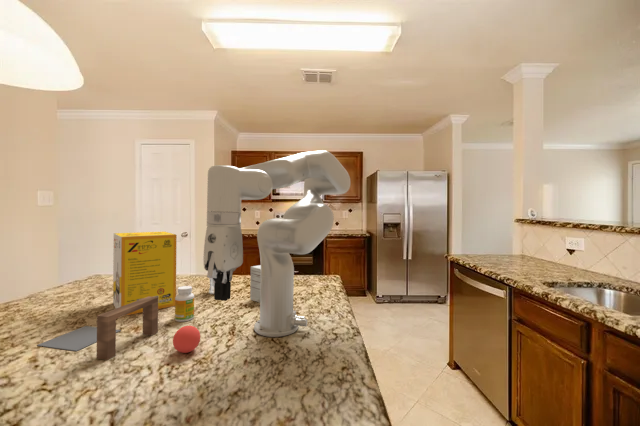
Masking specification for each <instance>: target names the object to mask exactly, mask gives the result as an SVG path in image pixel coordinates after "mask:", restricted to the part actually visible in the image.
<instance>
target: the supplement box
mask: <svg viewBox="0 0 640 426" xmlns="http://www.w3.org/2000/svg"><path fill="white" fill-rule="evenodd" d="M260 274H261V264H258V265H253V266H250V284H249V285H250V288H249V289H250V297H249V298H250V300H251V301H254V302H256V303H259V304H260Z"/></svg>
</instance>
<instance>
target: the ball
mask: <svg viewBox="0 0 640 426" xmlns="http://www.w3.org/2000/svg"><path fill="white" fill-rule="evenodd" d="M200 341H201V333H200V330H199V329H198V328H197V327H196V326H193V325H184V326H182V327H180V328H179V329H177V331H176V332H174V335H173V337H172V346H173V347H174V349H175V351H177V352H179V353H182V354H187V353H190V352H193V351H194V350H195V349H196V348H197V347H199V344H200Z"/></svg>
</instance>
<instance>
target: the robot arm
mask: <svg viewBox="0 0 640 426" xmlns="http://www.w3.org/2000/svg"><path fill="white" fill-rule="evenodd" d="M302 181H303V197H302V198H301V199H300V200H298V201H297V202H296V203H294V204H293V205H291V206H290V207H288V208H287V210H286V211H285V212H284V213H283V216H282V218H278V217H277V218H270V219H269V218H268V219H266V220H264V221H263V222H262V223H260V225H259V227H258V228H257V233H256V235H257V236H256V238H257V239H256V240H257V246H258V249H259V258H260V265H261V274H260V303H259V320H257V321H256V322H255V323H254V325H253V330H254V332H255V333H256V334H258V335H260V336H263V337H268V338H278V337H279V338H280V337H285V336H289V335H291V334H294V333H295V332H296V331H298V329H299V326H300V327H307V326H308V319H307V318H306V316H300V315H299V316H298V315H297V310H294V283H295V282H294V281H295V279H294V278H295V267H294V266H295V265H294V262H293V259H292V256H291V255H290V254H293V255H306V254H310V253H311V252H312V251H313V250H315V249H316V248H317V247H318V245H319V244H321V242H322V241H324V239H325V238H326V237H327V236H328V235H329V234H330V232H331V230H332V228H333V226H334V218H335V217H334V212H333V210H332V208H331V207H330V206H329V205H327V204H325V203H324V201H323V199H322V198H321V196H329V195H344V194H347V192H348V191H349V190H350V189H351V177H350V174H349V172H348V171H347V169H346V168H345V167H344V166H343V165H342V163H341V162H340V161H339V159H338V158H336V156H335V155H334V154H332V152H329V151H328V150H325V149H324V150H323V149H322V150H321V149H320V150H313V151H311V150H310V151H304V152H298V153H296V154H292V155H288V156H284V157H281V158H277V159H272V160H268V161H265V162H260V163H257V164H252V165H248V166H244V167H237V166H233V165H225V164H223V165H221V164H220V165H216V164H215V165H212V166H210V167H209V168H208V171H207V188H206V189H207V190H206V193H207V195H206V196H207V197H206V231H205V237H204V245H203V269H204V270H205V271H207V274H206V275H207V277H206V278H213V282H214V283H215V285H214V294H213V295H214V296H213V297H214V298H213V299H214V300H215V301H223V302H224V301H225V302H226V301H229V300H230V299H231V291H232V290H231V289H232V288H231V287H232V285H231V283H232V280H233V273H234V272H235V271H236V270H237V268H240V267H241V266H242V265H243V263H244V248H243V247H244V246H243V245H244V244H243V231H242V200H244V201H248V200H250V201H251V200H253V201H254V200H255V201H256V200H258V201H259V200H263V199H265V198H267V197H269V195H270V194H271V192H272V191H273V190H276V189H277V190H278V189H283V188H288V187H291V186H294V185H295V184H298V183H300V182H302Z"/></svg>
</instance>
